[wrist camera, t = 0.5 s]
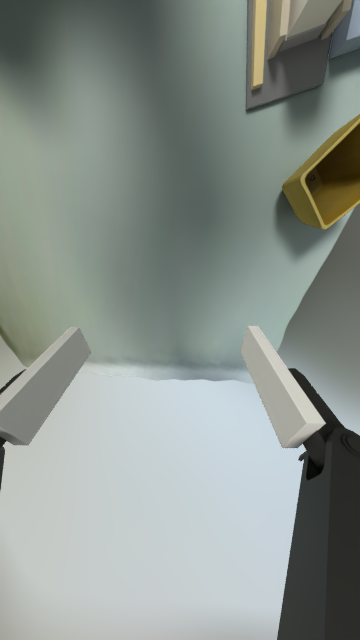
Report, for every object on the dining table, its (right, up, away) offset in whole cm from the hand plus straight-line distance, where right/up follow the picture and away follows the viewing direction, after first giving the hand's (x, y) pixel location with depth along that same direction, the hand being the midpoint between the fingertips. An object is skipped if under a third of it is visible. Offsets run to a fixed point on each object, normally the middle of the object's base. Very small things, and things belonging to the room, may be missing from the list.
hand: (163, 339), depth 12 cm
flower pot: (+23, +25, +15) cm, 37 cm away
